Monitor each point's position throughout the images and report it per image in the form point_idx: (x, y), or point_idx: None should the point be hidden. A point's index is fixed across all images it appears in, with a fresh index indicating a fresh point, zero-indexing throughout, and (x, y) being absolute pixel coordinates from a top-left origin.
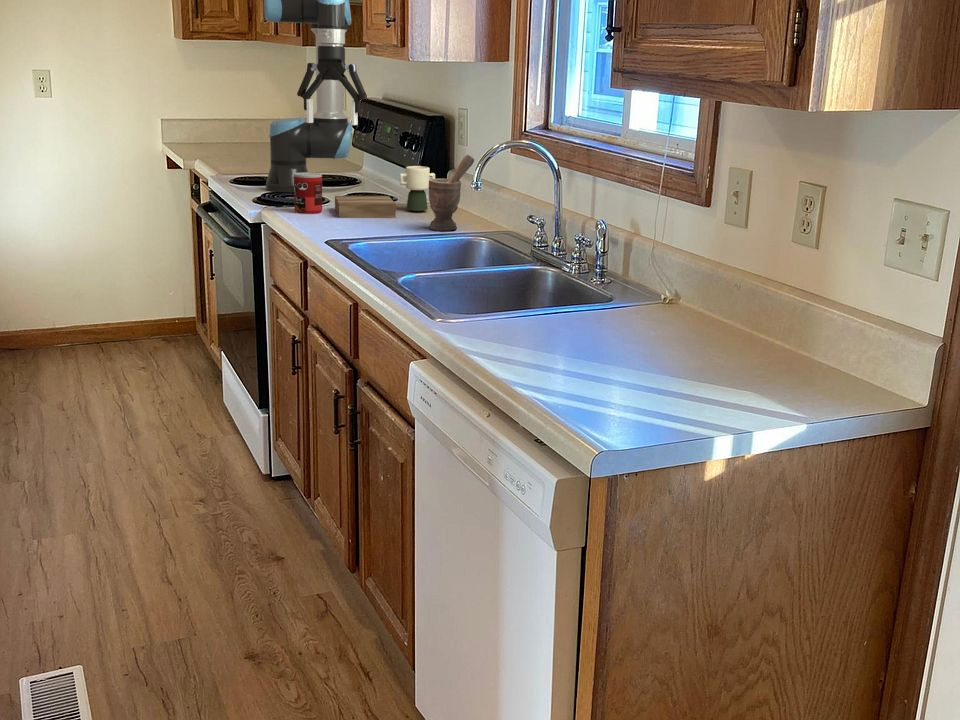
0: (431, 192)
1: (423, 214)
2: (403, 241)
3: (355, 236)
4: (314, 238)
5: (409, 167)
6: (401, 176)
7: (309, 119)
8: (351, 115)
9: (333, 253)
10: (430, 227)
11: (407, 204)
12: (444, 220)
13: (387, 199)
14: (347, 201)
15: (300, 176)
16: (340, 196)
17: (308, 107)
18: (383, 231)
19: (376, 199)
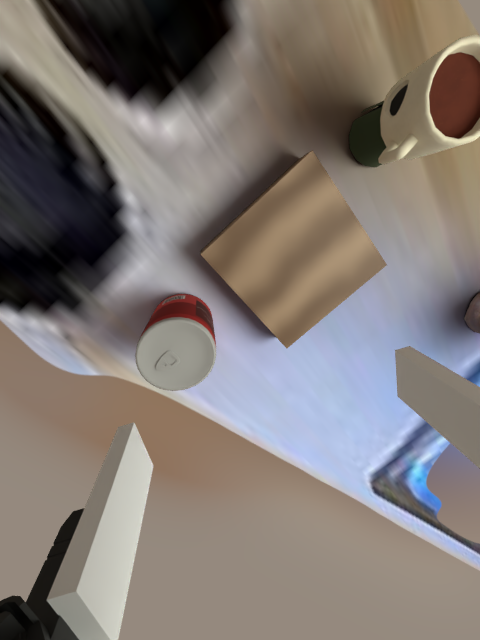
0: None
1: (401, 173)
2: None
3: (388, 442)
4: (348, 484)
5: (429, 88)
6: (399, 158)
7: (148, 479)
8: (436, 429)
9: (412, 523)
10: (471, 328)
11: (363, 157)
12: None
13: (341, 216)
14: (282, 311)
15: (182, 388)
16: (219, 254)
17: (127, 561)
18: None
19: (319, 235)
